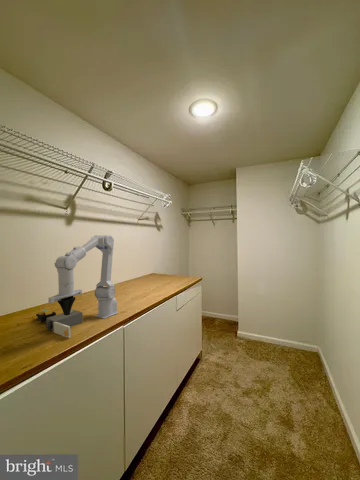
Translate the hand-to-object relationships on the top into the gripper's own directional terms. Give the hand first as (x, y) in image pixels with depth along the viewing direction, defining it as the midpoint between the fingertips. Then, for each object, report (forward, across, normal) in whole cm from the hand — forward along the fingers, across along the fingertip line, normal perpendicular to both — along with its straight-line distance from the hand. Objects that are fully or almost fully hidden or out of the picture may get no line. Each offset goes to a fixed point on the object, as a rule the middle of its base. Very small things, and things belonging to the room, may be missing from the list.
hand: (66, 314), depth 87 cm
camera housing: (+9, -7, -11) cm, 16 cm away
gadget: (+9, -8, -27) cm, 30 cm away
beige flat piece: (+8, +2, -2) cm, 9 cm away
